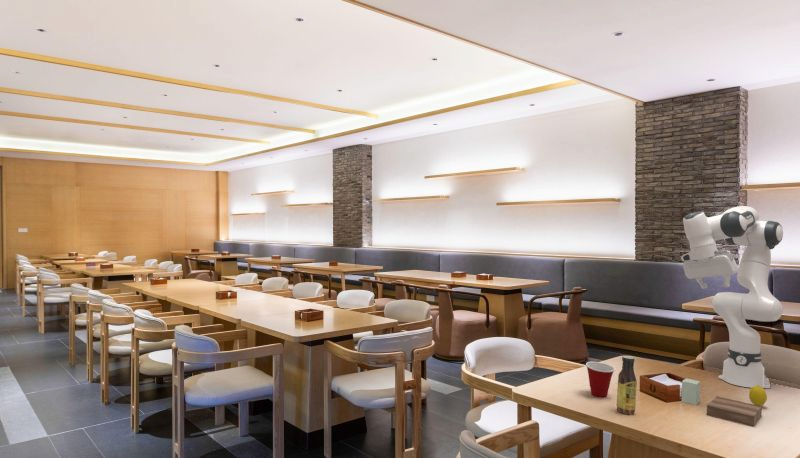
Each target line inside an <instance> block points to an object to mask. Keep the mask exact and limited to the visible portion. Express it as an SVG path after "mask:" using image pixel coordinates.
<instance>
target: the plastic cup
mask: <svg viewBox="0 0 800 458" xmlns="http://www.w3.org/2000/svg"><path fill="white" fill-rule="evenodd" d="M585 365H586V367H587V368H586V370H587V374H588V382H589V387H590V388H589V389H590V394H591V396H593V397H595V398H599V399H602V398H603V399H604V398H605V399H606V398H607V397H608V393H609V389H610V385H611V381H612V377H613V373H614V372H615V371H616V367H614V366H613V365H610V364H607V363H604V362H599V361H588V362H586V363H585Z"/></svg>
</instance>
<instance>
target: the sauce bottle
mask: <svg viewBox="0 0 800 458" xmlns="http://www.w3.org/2000/svg"><path fill="white" fill-rule="evenodd" d="M621 360H622V365H621V366H622V367H621V370H620V371H619V373H618V376H617V379H618V380H617V391H616V392H617V393H616V410H617V412H619V413H621V414H623V415H633V414H635V412H636V405H637V403H636V402H637V385H638V383H637V378H636V377H637V376H636V374H635V370H634V369H635V368H634V366H635V358H634V357H633V356H630V355H623V356H622V359H621Z"/></svg>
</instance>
